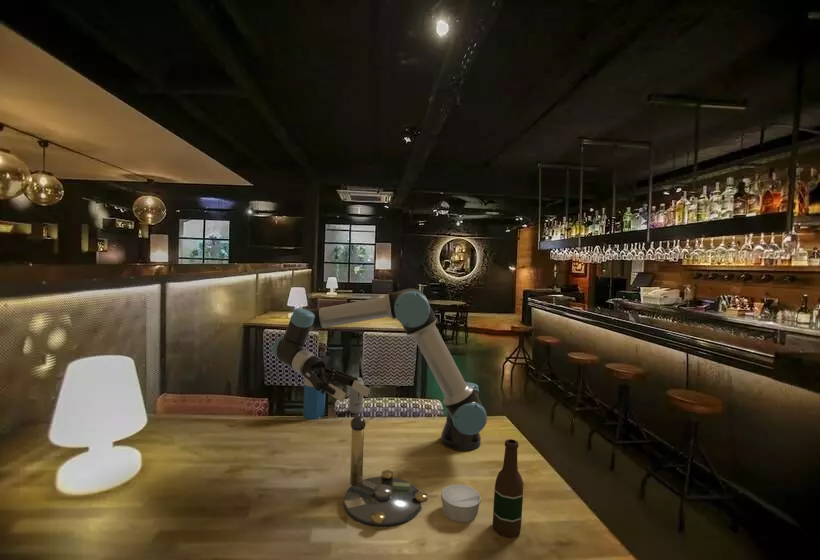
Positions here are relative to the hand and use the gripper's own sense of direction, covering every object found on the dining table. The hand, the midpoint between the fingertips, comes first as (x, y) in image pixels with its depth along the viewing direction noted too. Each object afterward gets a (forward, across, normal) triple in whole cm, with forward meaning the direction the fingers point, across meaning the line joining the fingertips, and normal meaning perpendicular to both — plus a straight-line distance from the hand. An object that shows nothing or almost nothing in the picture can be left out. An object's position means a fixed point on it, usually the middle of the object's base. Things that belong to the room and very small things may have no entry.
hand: (356, 395), depth 137 cm
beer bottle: (+55, -5, -11) cm, 56 cm away
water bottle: (-37, -38, -33) cm, 62 cm away
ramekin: (+42, -5, -15) cm, 45 cm away
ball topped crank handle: (+17, +2, -21) cm, 27 cm away
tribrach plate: (+22, +2, -22) cm, 31 cm away
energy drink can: (-26, -51, -27) cm, 63 cm away
